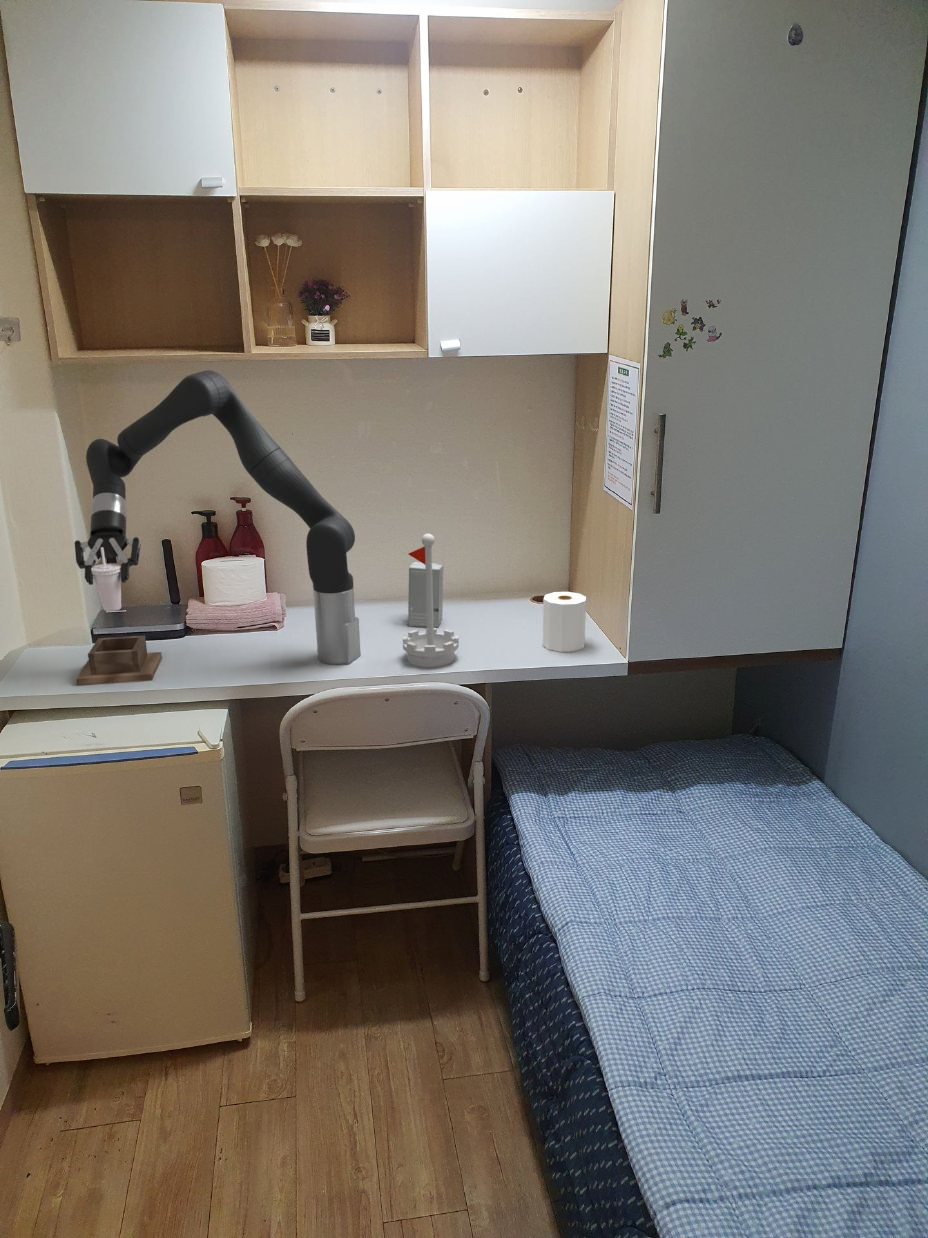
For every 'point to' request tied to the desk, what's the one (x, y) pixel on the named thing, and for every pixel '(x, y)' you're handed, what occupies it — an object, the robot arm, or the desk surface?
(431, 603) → the flag stand
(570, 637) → the toilet paper
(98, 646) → the socket board
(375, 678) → the desk surface
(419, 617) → the skincare box
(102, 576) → the smoothie
